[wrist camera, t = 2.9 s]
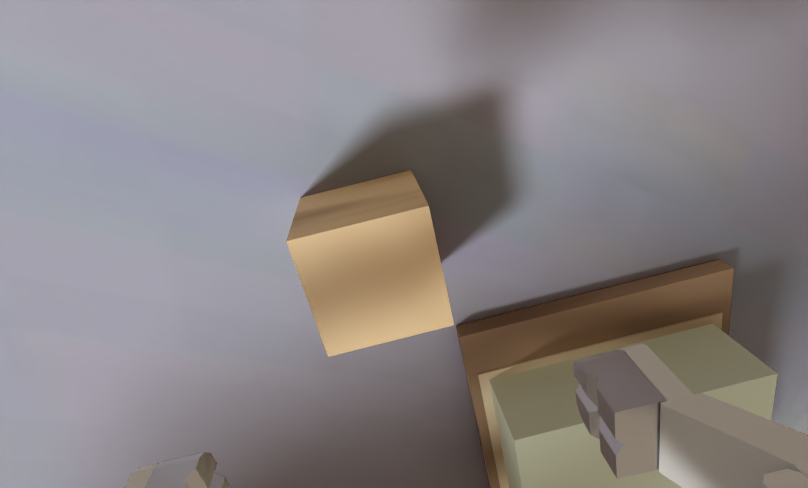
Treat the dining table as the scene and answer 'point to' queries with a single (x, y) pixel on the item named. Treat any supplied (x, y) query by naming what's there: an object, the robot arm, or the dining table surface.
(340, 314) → the oak cube
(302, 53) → the dining table surface
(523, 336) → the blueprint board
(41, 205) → the dining table surface
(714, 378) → the plinth block
